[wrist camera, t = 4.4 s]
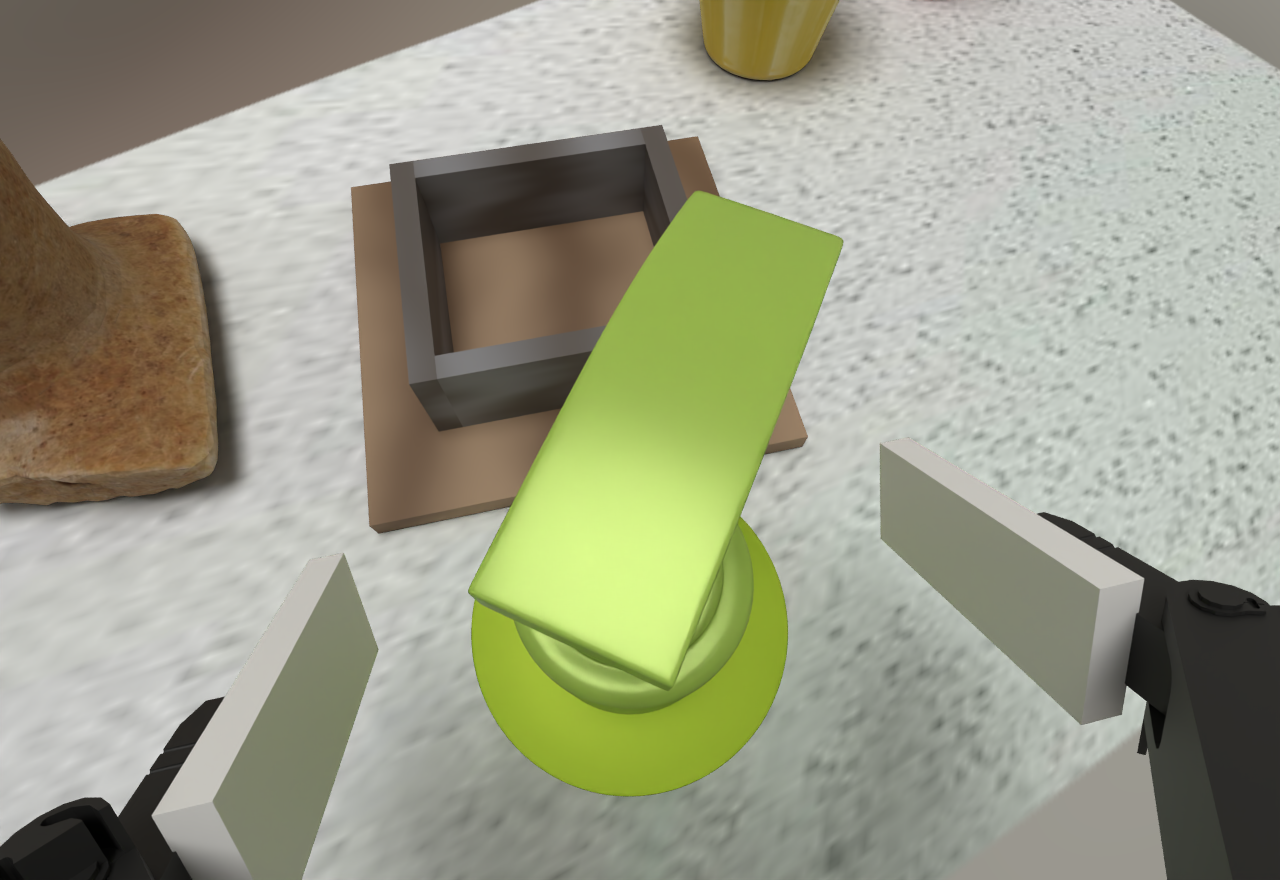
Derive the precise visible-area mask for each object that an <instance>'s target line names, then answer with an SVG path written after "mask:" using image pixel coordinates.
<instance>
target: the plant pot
mask: <svg viewBox="0 0 1280 880" xmlns="http://www.w3.org/2000/svg"><path fill="white" fill-rule="evenodd" d="M699 1H700V10H701V20H702V31H703V39H704V45H705V48H706V50H707V52H708V54H709V56H710V57H711V58H712V60H713V61H714V62H715V63H716V64H718V65H719V66H720V67H721V68H723V69H724V70H726V71H728V72H730V73H732V74H735V75H737V76H741V77H744V78H749V79H755V80H773V79H780V78H784V77H787V76H790V75H792V74H795V73H796V72H798V71H800V70H801V69H802V68H803V67H804V66H805V65H806V64H807V63H808V62H809V61H810V59H811V57H812V55H813V53H814V51H815V49H816V47H817V45H818V43H819V41H820V39H821V37H822V35H823V33H824V31H825V28H826V26H827V24H828V22H829V20H830V18H831V16H832V14H833V12H834V10H835V8H836V6H837V4H838V2H839V0H699Z"/></svg>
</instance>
